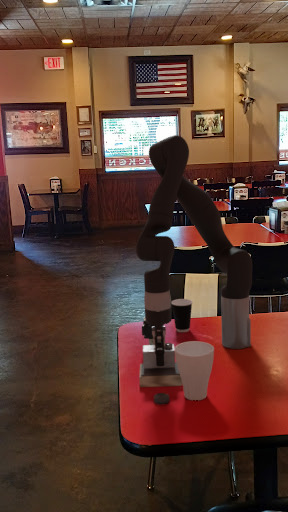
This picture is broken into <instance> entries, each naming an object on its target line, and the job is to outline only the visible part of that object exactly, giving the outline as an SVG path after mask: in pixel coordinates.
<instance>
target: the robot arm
mask: <svg viewBox="0 0 288 512" xmlns="http://www.w3.org/2000/svg"><path fill="white" fill-rule="evenodd" d="M189 156H190V148H189V145H188V142H187V141H186V139H185V138H184V137H183V136H181V135H178V134H174V135H170V136H168V137H166V138H163V139H162V140H159V141H157V142H155V143H154V144H152V145H151V146H150V147H149V149H148V157H149V161H150V163H151V165H152V167H153V168H154V170H156V171H155V172H157V173H158V176H159V177H160V178H161V181H160V182H159V185H158V186H157V188H156V189H155V191H154V193H153V195H152V196H151V197H152V198H151V200H150V203H149V209H148V215H147V219H146V223H145V225H144V227H143V230H142V231H141V232H140V235H139V237H138V239H137V242H136V244H135V252H136V253H135V254H136V256H137V258H138V259H139V260H140V261H143V262H160V264H159V266H158V267H154V268H149V269H147V270H146V271H145V272H144V274H143V275H144V276H143V277H144V278H143V279H144V280H143V281H144V282H143V283H144V284H143V285H144V297H143V298H144V299H143V301H144V317H145V321H146V323H148V324H150V325H154V326H152V335H153V345H154V346H155V353H156V365H157V366H164V353H165V351H164V345H165V343H166V335H167V332H166V331H167V330H166V325H167V324H170V323H171V322H172V320H173V319H172V317H173V316H172V303H171V302H172V298H171V297H172V296H171V293H170V291H171V290H170V273H171V266H172V261H173V258H174V254H175V247H176V246H175V242H174V240H173V239H172V238H171V237H169V236H168V235H159V234H163V233H167V232H168V231H170V230H171V228H172V225H173V217H174V210H175V204H176V199H177V200H178V202H179V204H180V205H181V207H182V209H183V210H184V212H185V214H186V216H187V217H188V219H189V220H190V222H191V223H192V225H193V227H195V229H196V230H197V233H199V235H200V238H202V240H203V242H204V243H205V245H206V247H207V248H208V250H209V252H210V253H211V255H212V257H213V260H214V262H215V264H216V266H217V267H218V269H219V270H220V271H221V272H222V273H224V274H226V285H223V286H222V287H221V288H220V295H221V296H220V298H221V299H220V301H221V302H220V303H221V305H220V307H221V309H220V310H221V313H220V314H221V315H220V316H221V319H220V320H221V344H222V346H223V347H224V348H227V349H231V350H232V349H233V350H241V349H245V348H249V347H250V348H251V346H252V345H251V344H252V343H251V341H252V337H251V336H252V335H251V332H252V330H251V329H252V328H251V326H252V325H251V318H250V291H251V289H252V283H253V280H252V279H253V260H252V257H251V253H249V252H247V251H246V250H245V249H241V248H238V247H235V246H234V244H232V242H231V240H229V238H228V236H227V235H226V233H225V231H224V229H223V222H222V216H221V213H220V211H219V208H218V207H217V204H216V203H215V201H214V200H213V199H212V197H211V196H210V195H209V193H208V192H206V191H205V190H204V189H202V188H201V187H199V186H198V185H196V184H194V183H193V182H192V181H189V180H188V179H187V178H186V177H185V175H184V173H185V170H186V168H187V164H188V161H189ZM163 325H164V326H163ZM157 348H162V350H157Z"/></svg>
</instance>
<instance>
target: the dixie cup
mask: <svg viewBox="0 0 288 512" xmlns="http://www.w3.org/2000/svg"><path fill="white" fill-rule="evenodd" d="M192 305H193V300H192V299H188V298H178V299H174V300H171V308H172V312H173V314H172V315H173V321H174V326H175V328H174V329H175V330H176V332H178V333H187V332H189V331H190V328H191V320H192V319H191V317H192Z"/></svg>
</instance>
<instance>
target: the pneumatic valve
mask: <svg viewBox="0 0 288 512" xmlns="http://www.w3.org/2000/svg"><path fill="white" fill-rule="evenodd" d="M142 324H143V325H142V326H141V335H142V336H143V340H144V339H146V340H147V341H148V345H153V335H152V326H154V325H150V324H148V323H146V321H145V316H144V317H143V321H142ZM163 326H165V324H164V325H163Z"/></svg>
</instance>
